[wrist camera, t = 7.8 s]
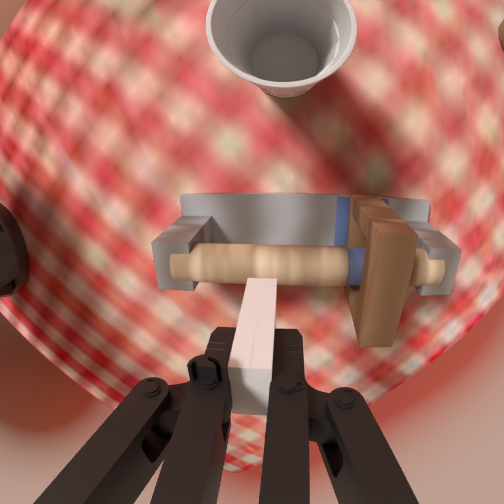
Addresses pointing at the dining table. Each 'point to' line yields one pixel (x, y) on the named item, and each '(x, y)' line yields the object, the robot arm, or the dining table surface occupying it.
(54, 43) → the dining table surface
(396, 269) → the collar
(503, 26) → the squeeze bottle
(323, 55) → the cup
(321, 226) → the rail
